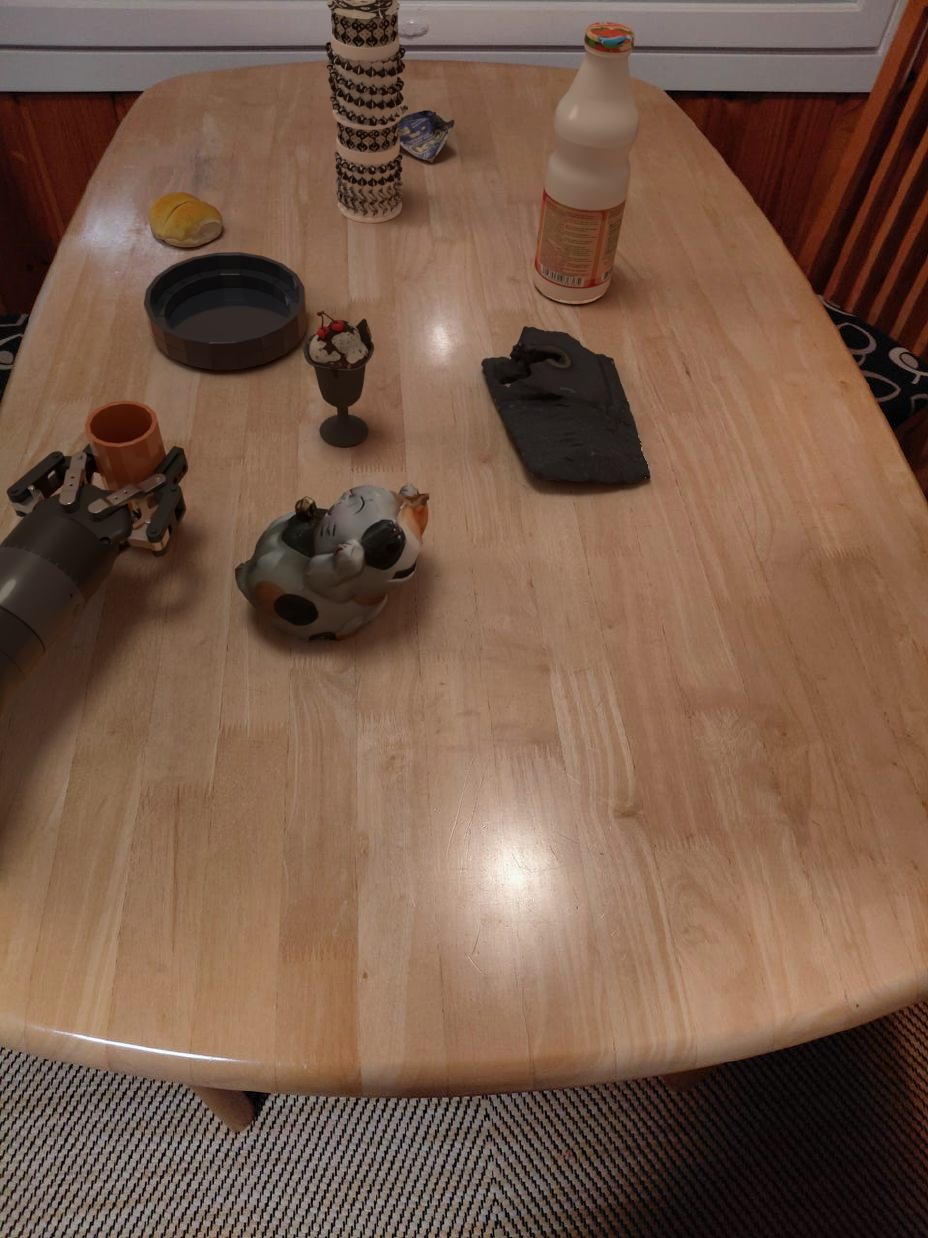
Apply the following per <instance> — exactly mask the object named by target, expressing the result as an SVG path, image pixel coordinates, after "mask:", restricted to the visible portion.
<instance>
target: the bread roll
mask: <svg viewBox="0 0 928 1238" xmlns="http://www.w3.org/2000/svg"><path fill="white" fill-rule="evenodd" d="M223 221H224V220H223V215H222V214H221V213H220V211H219V210H218V209H217V207H215V206H214V205H212V204H210V203H209V202H206V201H203V200H200V199H199V198H197V197H196V196H195V195H192V194H191V193H188V192H185V191H182V192H180V191H179V192H177V191H176V192H174V191H173V192H169V193H167V194H165V195H162V196H161V197H159V198H158V199H156V200H155V201H154V202H153V203H152V205H151V207H150V210H149V214H148V225H149V228H150V231H151V232H152V234H153V235H154V236H155V238H157V239H159V240H161V241H165V242H166V243H167V244H168V245H171V246H175V247H178V248H194V247H195V248H196V247H199V246H201V245H204V244H207V243H209V242H211V241H214V240H215V239H216V238H217V237H219V236H220V235H221V232H222V225H223Z"/></svg>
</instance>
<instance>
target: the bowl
mask: <svg viewBox="0 0 928 1238" xmlns="http://www.w3.org/2000/svg"><path fill="white" fill-rule="evenodd" d="M306 298H307V297H306V288H305V286H304V283H303V282H302V280H301V279H300V277H299V275H298V274H297V273H296V272H294V271H293V270H292V269H291V268H289V267H288V266H287V265H285V264H284V263H282V262H280V261H277V260H274V259H272V258H271V257H270V258H269V257H267V256H264V255H259V254H253V253H247V252H241V251H238V252H237V251H231V252H229V251H227V252H226V251H225V252H224V251H223V252H219V251H218V252H213V253H207V254H201V255H196V256H192V257H189V258H187V259H183V260H182V261H179V262H176V263H174V264H172V265H170V266H168V267H167V268H166V269H164V270H163V271H162V272H159V274H157V275H155V277H154V278H153V279H152V281H151V283H149V284H148V287H147V288H145V294H144V300H143V307H144V311H145V316H146V319H147V324H148V328H149V332H150V335H151V336H152V339H153V341H154V344H155V345H156V346H157V347H158V348H159V349H160V350H161V351H162V352H163V353H164V354H165V355H166V356H167V357H169V358H171V359H173V360H176V361H178V362H181V363H183V364H184V365H186V366H190V367H194V368H195V367H196V368H201V369H207V370H213V371H224V370H225V371H226V370H227V371H228V370H230V371H231V370H242V369H248V368H252V367H256V366H260V365H264V364H267V363H269V362H271V361H273V360H275V359H277V358H280V357H283V356H285V355H286V354H287V353H288V352H290V351H291V350H292V349H293V348H294V347H295V346H296V345H298V344H299V343H300V341H301V340H302V338H303V336H304V334H305V333H306V331H307V328H308V310H307V309H308V308H307V299H306Z"/></svg>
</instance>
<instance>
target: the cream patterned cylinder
mask: <svg viewBox="0 0 928 1238" xmlns="http://www.w3.org/2000/svg"><path fill="white" fill-rule="evenodd" d="M326 5H327V7H328V9H329V10H330V12H331V15H330V22H331V31H330V35H329V36H330V41H327V42H326V43H325V44H324V49H325V51H326V56H327V57H328V63H327V64H326V69H327V70H328V71H329V76H328V78H327V81H328V83H329V89H330V90H331V95H330V97H329V100H330V102H331V103H332V104H331V106H332V116H333V118H334V120H335V121H336V128H337V135H336V138H335V140H336V141H335V143H336V151H335V152H334V157H335V162H336V163H335V165H334V166H335V169H336V175H337V176H336V178H335V184H336V188H337V189H336V196H337V200H338V203H337V208H338V210H339V212H340V214H341V215H343V216H344V217H346V218H347V219H349V220H352V221H355V222H357V223H366V224H376V223H377V224H378V223H384V222H385V223H386V222H387V221H389V220H392V219H395V218H396V217H397V216H399V214H400V213H402V209H403V202H402V197H403V193H402V192H401V191H402V186H403V184H404V182H403V181H402V172H403V167H402V160H403V154H402V151H401V145H400V138H399V136H398V121H400V120H401V118H402V116H403V114H402V110H401V108H400V105H402V104H403V101H404V100H405V98H404V95H403V93H402V92H401V91H403V88H404V86H405V81H404V80H402V78H401V77H400V76H398V75H400V74H402V73H404V70H405V69H406V64H405V63H404V61H403V60H402V59H404V58H405V54H406V52H407V51H406V48H405V47H404V46H403V45H402V44H401V43H400V33H399V29H398V27H399V15H398V13H399V11H400V7H401V4H400V3H399V1H398V0H328V1H327V3H326ZM401 115H402V116H401Z"/></svg>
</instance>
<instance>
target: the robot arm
mask: <svg viewBox="0 0 928 1238" xmlns="http://www.w3.org/2000/svg"><path fill="white" fill-rule="evenodd" d="M188 471H189V463H188V459H187V455H186V453H185V450H184V448H183V447H181V446H177V445H173V446H172V447H171V449H170V450H169V451H168V452H167V453H166V456H165V458H164V459H163V460H162V462H161V463H160V464H159V465H158V467H157V468H156V469H155V471H154V475H152V476H151V477H149V478H147V479H146V480H144V481H142V482H141V483H139V484H134V483H130V484H128V485H126V486H125V487H123V488H121V489H120V490H118V491H113V490H105V489H102V488H100V487H99V486H97V485H94V479H95V475H94V474H95V473H96V474H98V475H100V473H99V470H98V467H97V464H96V461H95V458H94V455H93V452H92V449H91V446H90V443H89V442H88V444H86V446H85V447H84V448H83V449H82V450H81V451H76V452H74V453H73V454H72V455H65V454H64V452H62V451H60V450H54V451H52V452H51V453H49V454H48V455H46V456H45V457H44V458H43V459H42V460H41V461H40V462H38V463H37V464H35V466H33V467H32V468H31V469H30V470H29V471H27V472H26V473H25V474H24V475H23V476H22V477H20V478H19V479H18V480H17V481H15V482H14V483H13V484H12V485H11V486H9V487H8V488H7V490H6V494H7V497H8V499H9V502H10V504H11V506H12V508H13V510H14V513H15V514H16V516H17V517H20V518H21V520H20V521H18V523H17V524H16V526H14V528H13V529H11V531H10V533H8V534H7V536H6V537H5V538H4V540H2V542H1V543H0V723H1V721H2V719H3V717H4V714H5V712H6V708H7V706H8V704H9V702H10V700H11V699H12V698H13V697H14V695H15V694H17V692H18V691H19V690H20V688H21V687H22V686H23V684H24V683H25V681H26V680H27V679H29V676H30V675H31V673H32V672H33V671H34V670H35V668H36V667H37V665H38V664H39V663H40V661H41V660H43V657H44V656H46V655H47V653H48V652H49V650H51V649H52V647H53V646H55V645H56V644H57V643H58V642H59V641H60V640H61V639H62V637H63V636H64V635H65V634H66V633H67V631H68V630H69V629H70V627H71V626H72V625H73V623H74V622H75V620H77V618H78V617H79V615H81V612H83V610H84V609H85V607H86V606H87V605H88V604H89V602H90V600H91V599H92V598H93V596H94V595H95V594H96V593H97V591H98V590H99V588H100V587H101V585H102V584H103V583H104V581H106V579H107V578H108V577H109V575H110V573H111V571H112V569H113V567H114V564H115V562H116V560H117V558H118V557H119V556H120V555H122V554H123V553H125V552H127V551H129V550H130V549H131V548H132V547H136V548H144V549H148V550H149V549H150V552H151V555H152V556H153V557H154V558H155V557H156V558H162V557H164V556H166V555H167V553H168V552H169V549H170V547H171V544H172V542H173V540H174V538H175V536H176V533H177V531H178V529H179V527H180V525H181V523H182V521H183V519H184V516H185V514H186V513H187V506H186V502H185V498H184V494H183V489H182V487H181V485H180V483H181V481H182V480H183V479H184V477H185V476H186V474H187V473H188ZM53 472H54V473H53ZM51 473H52V474H51ZM50 474H51V475H50ZM61 488H62V490H60V492H59V493H57V494H55V493H56V492H57V491H59V489H61ZM153 492H154V495H152V496H150V497H149V498H147V499H146V497H147V496H148V495H150V494H151V493H153ZM130 501H131V502H132V506H133V510H132V512H130V509H129V506H128V502H130ZM154 511H155V513H154V515H153V517H152V519H149V518H150V517H151V514H152V513H153V512H154ZM144 522H145V524H144V525H143V526H142V527H141V528H140V529H137V530H133V529H134V528H136V527H138V526H139V525H141V524H142V523H144Z"/></svg>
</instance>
